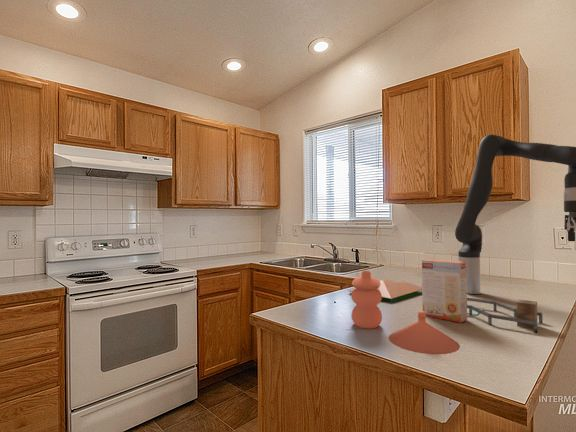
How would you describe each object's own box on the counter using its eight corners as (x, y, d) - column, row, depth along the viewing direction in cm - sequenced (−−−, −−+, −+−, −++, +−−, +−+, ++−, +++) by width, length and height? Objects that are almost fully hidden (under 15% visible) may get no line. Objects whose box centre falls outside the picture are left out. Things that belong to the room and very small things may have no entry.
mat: (448, 310, 135) (448, 310, 135) (456, 305, 144) (456, 304, 144) (476, 315, 129) (476, 314, 129) (483, 309, 137) (483, 308, 137)
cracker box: (468, 320, 123) (467, 261, 123) (460, 323, 119) (460, 262, 119) (429, 312, 134) (429, 258, 134) (422, 315, 130) (421, 259, 130)
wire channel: (432, 314, 130) (432, 305, 130) (451, 303, 146) (451, 295, 147) (537, 333, 109) (537, 322, 109) (545, 317, 125) (545, 307, 125)
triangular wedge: (344, 298, 160) (343, 280, 160) (383, 288, 182) (383, 272, 182) (387, 307, 143) (387, 287, 143) (425, 295, 165) (425, 277, 165)
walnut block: (517, 326, 116) (516, 302, 116) (519, 322, 120) (519, 299, 120) (535, 329, 113) (535, 304, 113) (537, 325, 116) (537, 301, 116)
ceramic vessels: (474, 343, 101) (473, 278, 101) (441, 364, 87) (440, 289, 87) (372, 318, 127) (371, 266, 127) (334, 331, 113) (334, 273, 113)
